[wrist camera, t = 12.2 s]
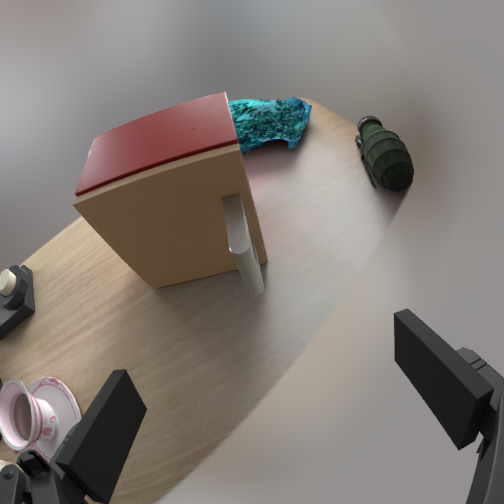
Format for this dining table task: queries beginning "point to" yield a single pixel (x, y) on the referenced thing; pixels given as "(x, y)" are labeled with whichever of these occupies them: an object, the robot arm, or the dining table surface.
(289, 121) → the teal plastic bag
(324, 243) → the dining table surface
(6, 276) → the button
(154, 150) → the cabinet
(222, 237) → the wooden cabinet door
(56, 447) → the teacup
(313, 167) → the dining table surface
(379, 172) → the grenade
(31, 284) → the box
